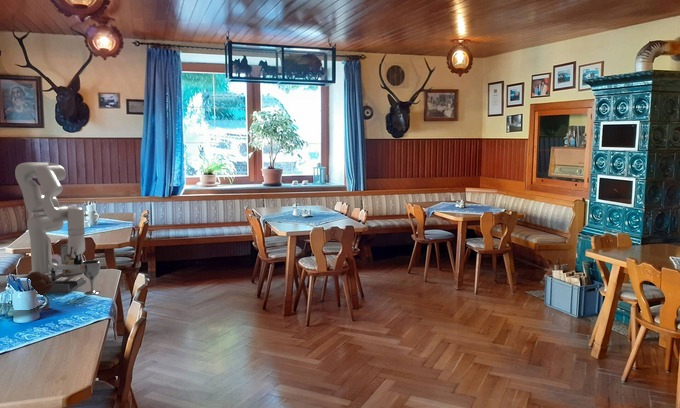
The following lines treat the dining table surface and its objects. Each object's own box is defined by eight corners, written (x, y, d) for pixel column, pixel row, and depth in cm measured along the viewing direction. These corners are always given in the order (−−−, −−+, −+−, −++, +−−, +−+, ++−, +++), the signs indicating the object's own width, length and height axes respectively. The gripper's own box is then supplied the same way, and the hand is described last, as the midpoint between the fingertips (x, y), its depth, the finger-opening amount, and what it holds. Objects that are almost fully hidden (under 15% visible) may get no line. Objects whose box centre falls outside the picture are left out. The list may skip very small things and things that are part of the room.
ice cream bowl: (45, 308, 223) (43, 274, 221) (19, 308, 223) (17, 274, 222) (59, 301, 234) (57, 268, 232) (34, 300, 234) (33, 268, 232)
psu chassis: (55, 282, 264) (54, 267, 263) (85, 282, 264) (85, 267, 263) (35, 293, 245) (35, 277, 244) (68, 293, 246) (67, 277, 245)
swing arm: (46, 270, 255) (46, 264, 254) (50, 268, 259) (50, 263, 258) (84, 271, 256) (84, 265, 255) (87, 269, 260) (87, 263, 259)
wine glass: (104, 290, 251) (103, 260, 249) (95, 295, 243) (94, 264, 241) (89, 290, 251) (87, 259, 250) (79, 294, 244) (77, 263, 242)
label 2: (73, 278, 260) (73, 277, 260) (80, 278, 260) (80, 277, 260) (68, 280, 255) (68, 280, 255) (76, 280, 256) (76, 280, 255)
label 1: (61, 278, 260) (61, 277, 260) (68, 278, 260) (68, 277, 260) (56, 280, 255) (56, 280, 255) (63, 280, 255) (63, 280, 255)
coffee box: (79, 270, 287) (78, 242, 285) (83, 273, 283) (81, 244, 281) (61, 273, 281) (60, 244, 279) (64, 275, 277) (63, 246, 275)
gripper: (75, 229, 269) (77, 264, 271) (61, 234, 254) (63, 271, 257) (90, 229, 270) (91, 264, 272) (77, 234, 255) (79, 271, 257)
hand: (78, 267), depth 264 cm, fingers closed
